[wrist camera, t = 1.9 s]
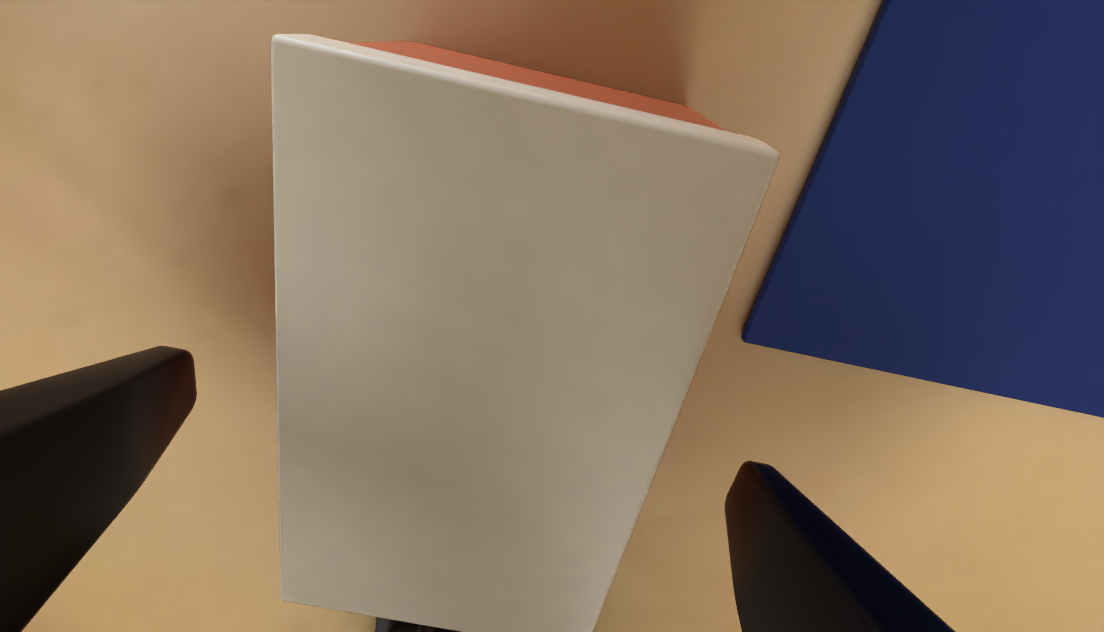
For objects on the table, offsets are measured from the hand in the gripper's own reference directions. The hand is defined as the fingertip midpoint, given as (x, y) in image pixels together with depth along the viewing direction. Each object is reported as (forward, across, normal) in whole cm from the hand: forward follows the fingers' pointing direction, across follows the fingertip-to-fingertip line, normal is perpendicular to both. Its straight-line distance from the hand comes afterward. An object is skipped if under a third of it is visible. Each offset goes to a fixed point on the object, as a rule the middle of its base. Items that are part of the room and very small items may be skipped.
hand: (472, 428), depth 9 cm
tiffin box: (+5, 0, 0) cm, 5 cm away
